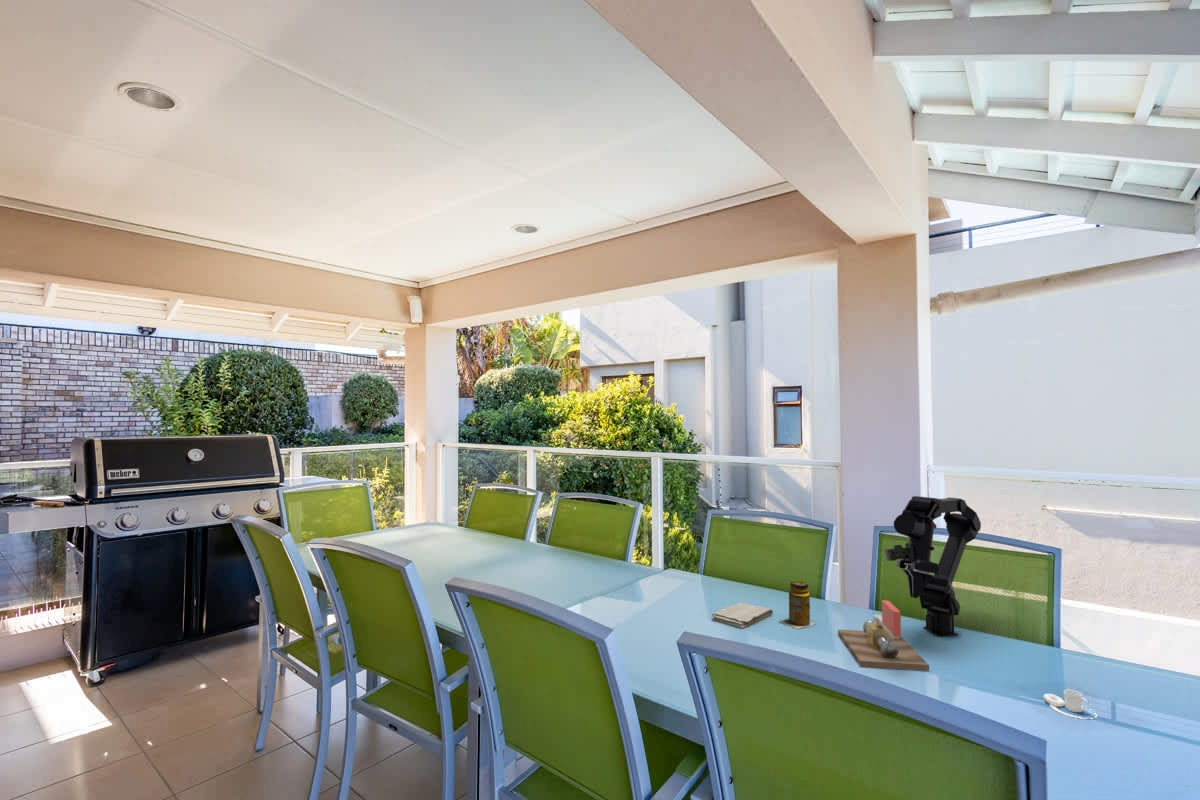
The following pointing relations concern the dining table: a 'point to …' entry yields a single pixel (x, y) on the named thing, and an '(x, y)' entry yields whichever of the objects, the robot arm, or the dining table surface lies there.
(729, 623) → the washcloth
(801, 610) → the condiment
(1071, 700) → the teacup and saucer
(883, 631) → the ball valve
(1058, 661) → the dining table surface
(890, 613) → the valve lever
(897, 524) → the robot arm
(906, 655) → the mounting board
